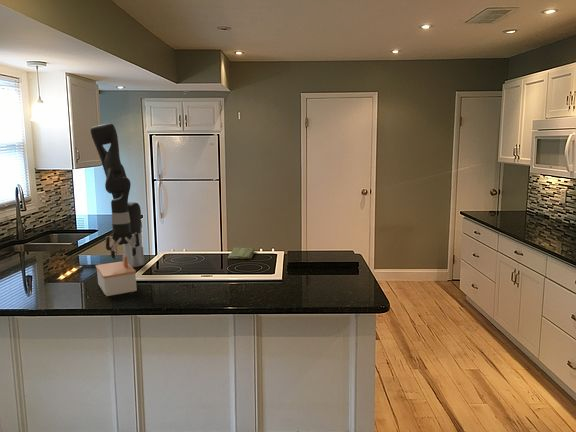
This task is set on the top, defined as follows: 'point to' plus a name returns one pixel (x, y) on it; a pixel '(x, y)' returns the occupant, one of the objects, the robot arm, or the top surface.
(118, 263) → the snap lid
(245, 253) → the washcloth
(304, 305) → the top surface
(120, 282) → the parts tub
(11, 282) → the top surface
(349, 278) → the top surface
